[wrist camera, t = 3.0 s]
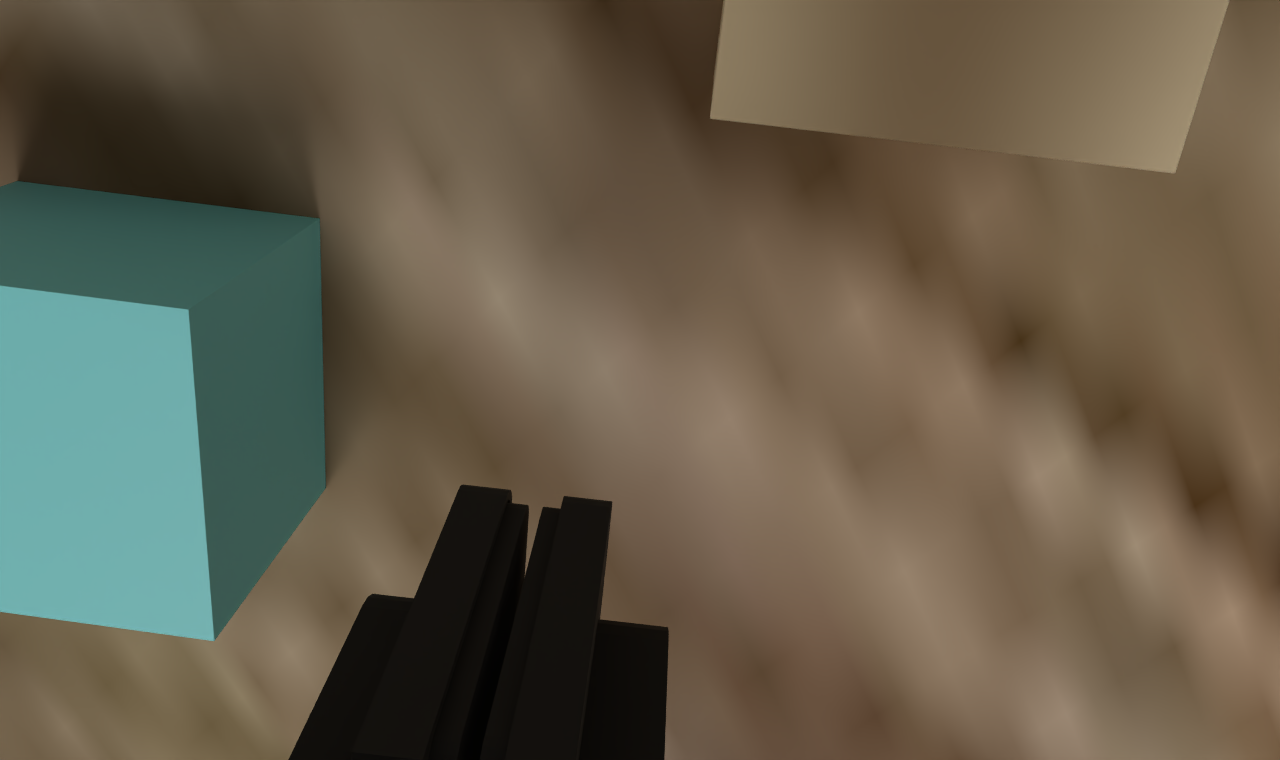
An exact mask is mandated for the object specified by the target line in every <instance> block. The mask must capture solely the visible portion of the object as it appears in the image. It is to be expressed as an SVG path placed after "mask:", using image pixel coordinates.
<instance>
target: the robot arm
mask: <svg viewBox="0 0 1280 760" xmlns="http://www.w3.org/2000/svg"><path fill="white" fill-rule="evenodd" d="M611 510H612V501H603V500H594V499H585V498H577V497H568V496H564V498H563V501H562V506H561V509H558V508H549V507H543V509H542V512H541V516H540V520H539V524H538V528H537V532H536V536H535V540H534V544H533V548H532V551H531V555H530V559H529V563H528V567H527V571H526V575H525V562H526V548H527V533H528V517H529V507H528V505H523V504H514V503H512V493H511V490H506V489H497V488H488V487H479V486H471V485H461V486H460V488H459V490H458V492H457V495H456V497H455V500H454V502H453V505H452V507H451V509H450V512H449V514H448V517H447V519H446V522H445V524H444V527H443V529H442V531H441V534H440V536H439V539H438V541H437V544H436V546H435V549H434V551H433V553H432V556H431V558H430V561H429V563H428V566H427V568H426V571H425V573H424V575H423V578H422V580H421V583H420V585H419V588H418V590H417V593H416V595H415V597H414V598H405V597H396V596H388V595H379V594H372V595H370V596H368V597H367V599H366V601H365V602H364V604H363V606H362V608H361V610H360V612H359V614H358V616H357V618H356V620H355V622H354V624H353V626H352V628H351V631H350V633H349V635H348V637H347V639H346V641H345V643H344V645H343V647H342V649H341V651H340V653H339V656H338V658H337V660H336V662H335V664H334V666H333V668H332V670H331V672H330V674H329V676H328V678H327V681H326V683H325V685H324V687H323V689H322V691H321V693H320V695H319V697H318V699H317V701H316V703H315V706H314V708H313V710H312V712H311V714H310V716H309V718H308V720H307V722H306V724H305V726H304V729H303V731H302V733H301V735H300V737H299V739H298V741H297V743H296V745H295V747H294V749H293V751H292V754H291V756H290V758H289V760H664V754H665V725H666V697H667V668H668V635H669V631H668V627H661V626H652V625H643V624H635V623H626V622H617V621H608V620H600V614H601V605H602V596H603V586H604V577H605V567H606V558H607V548H608V539H609V529H610V520H611ZM524 577H525V579H524Z"/></svg>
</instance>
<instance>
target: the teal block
mask: <svg viewBox="0 0 1280 760" xmlns="http://www.w3.org/2000/svg"><path fill="white" fill-rule="evenodd" d="M325 488H326V477H325V432H324V388H323V343H322V298H321V254H320V218H312V217H304V216H296V215H287V214H279V213H271V212H263V211H255V210H247V209H239V208H231V207H223V206H215V205H207V204H199V203H191V202H182V201H174V200H166V199H158V198H150V197H142V196H134V195H126V194H118V193H110V192H102V191H94V190H86V189H77V188H69V187H61V186H53V185H45V184H37V183H29V182H21V181H16V182H13V183H10V184H7V185H4V186H1V187H0V612H7V613H14V614H21V615H28V616H36V617H43V618H50V619H58V620H65V621H72V622H79V623H87V624H94V625H101V626H109V627H116V628H123V629H130V630H138V631H145V632H152V633H159V634H167V635H174V636H181V637H189V638H196V639H203V640H210V641H215V639H216V638H217V637H218V635H219V634H220V632H221V631H222V630H223V628H224V627H225V626H226V624H227V623H228V621H229V620H230V619H231V617H232V616H233V615H234V613H235V612H236V610H237V609H238V608H239V606H240V605H241V604H242V602H243V601H244V599H245V598H246V597H247V595H248V594H249V593H250V591H251V590H252V588H253V587H254V586H255V584H256V583H257V582H258V580H259V579H260V577H261V576H262V575H263V573H264V572H265V571H266V569H267V568H268V566H269V565H270V564H271V562H272V561H273V560H274V558H275V557H276V555H277V554H278V553H279V551H280V550H281V549H282V547H283V546H284V544H285V543H286V542H287V540H288V539H289V538H290V536H291V535H292V533H293V532H294V531H295V529H296V528H297V527H298V525H299V524H300V522H301V521H302V520H303V518H304V517H305V516H306V514H307V513H308V511H309V510H310V509H311V507H312V506H313V505H314V503H315V502H316V501H317V499H318V498H319V496H320V495H321V494H322V492H323V491H324V490H325Z"/></svg>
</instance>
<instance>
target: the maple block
mask: <svg viewBox="0 0 1280 760" xmlns="http://www.w3.org/2000/svg"><path fill="white" fill-rule="evenodd" d="M1228 3H1229V0H724V1H723V8H722V16H721V24H720V32H719V40H718V48H717V55H716V63H715V72H714V82H713V93H712V103H711V114H710V119H718V120H726V121H735V122H743V123H752V124H760V125H769V126H777V127H786V128H794V129H802V130H811V131H819V132H828V133H836V134H845V135H853V136H862V137H870V138H879V139H887V140H896V141H904V142H913V143H921V144H930V145H938V146H947V147H955V148H964V149H972V150H981V151H989V152H998V153H1006V154H1015V155H1023V156H1032V157H1040V158H1049V159H1057V160H1066V161H1074V162H1083V163H1091V164H1100V165H1108V166H1117V167H1125V168H1134V169H1142V170H1151V171H1159V172H1167V173H1175V171H1176V168H1177V165H1178V162H1179V159H1180V156H1181V152H1182V149H1183V146H1184V143H1185V140H1186V137H1187V133H1188V130H1189V127H1190V124H1191V121H1192V118H1193V114H1194V111H1195V108H1196V105H1197V102H1198V99H1199V95H1200V92H1201V89H1202V86H1203V83H1204V79H1205V76H1206V73H1207V70H1208V67H1209V64H1210V60H1211V57H1212V54H1213V51H1214V48H1215V45H1216V41H1217V38H1218V35H1219V32H1220V29H1221V26H1222V22H1223V19H1224V16H1225V13H1226V10H1227V7H1228Z"/></svg>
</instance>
